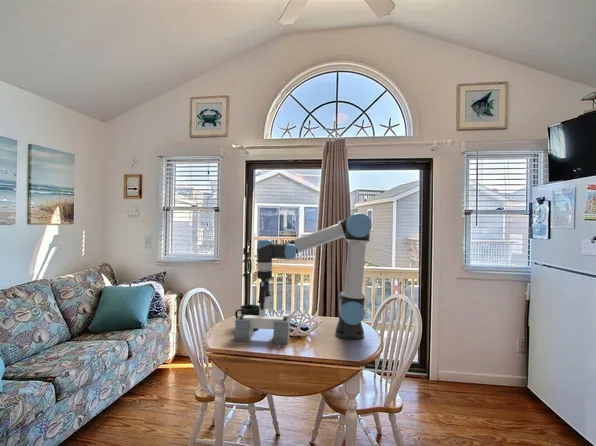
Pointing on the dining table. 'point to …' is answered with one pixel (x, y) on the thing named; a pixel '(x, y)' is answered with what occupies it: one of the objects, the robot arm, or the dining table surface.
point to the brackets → (245, 332)
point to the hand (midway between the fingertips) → (264, 312)
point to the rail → (262, 321)
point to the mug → (249, 311)
